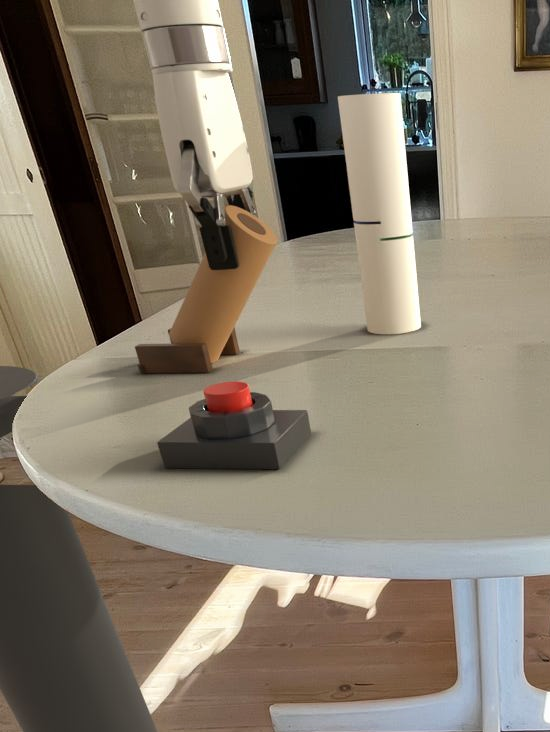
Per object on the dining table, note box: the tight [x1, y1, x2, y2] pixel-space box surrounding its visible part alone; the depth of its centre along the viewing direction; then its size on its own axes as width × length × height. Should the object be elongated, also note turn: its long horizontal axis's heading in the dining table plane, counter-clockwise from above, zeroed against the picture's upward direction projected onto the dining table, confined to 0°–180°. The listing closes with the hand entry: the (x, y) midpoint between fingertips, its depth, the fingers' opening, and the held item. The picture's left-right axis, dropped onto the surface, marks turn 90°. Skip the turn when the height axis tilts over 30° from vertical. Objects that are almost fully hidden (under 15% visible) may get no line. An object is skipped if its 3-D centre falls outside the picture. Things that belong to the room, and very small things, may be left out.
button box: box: [156, 391, 312, 470], centre depth 62 cm, size 10×8×4 cm
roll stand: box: [134, 326, 241, 374], centre depth 87 cm, size 8×9×3 cm
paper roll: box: [168, 205, 278, 364], centre depth 83 cm, size 6×6×16 cm
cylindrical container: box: [337, 92, 422, 335], centre depth 91 cm, size 7×7×25 cm
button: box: [202, 381, 253, 413], centre depth 61 cm, size 4×4×2 cm
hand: (237, 261), depth 81 cm, fingers closed on paper roll, 5 cm apart
